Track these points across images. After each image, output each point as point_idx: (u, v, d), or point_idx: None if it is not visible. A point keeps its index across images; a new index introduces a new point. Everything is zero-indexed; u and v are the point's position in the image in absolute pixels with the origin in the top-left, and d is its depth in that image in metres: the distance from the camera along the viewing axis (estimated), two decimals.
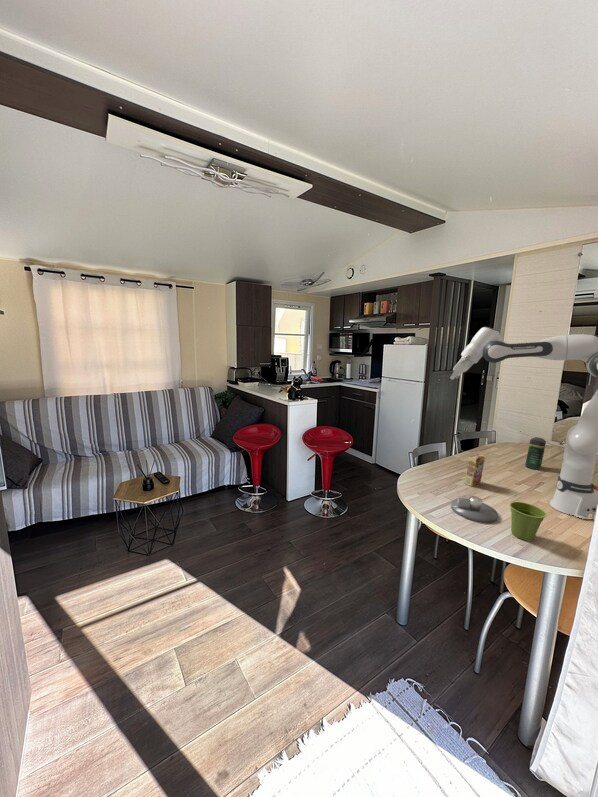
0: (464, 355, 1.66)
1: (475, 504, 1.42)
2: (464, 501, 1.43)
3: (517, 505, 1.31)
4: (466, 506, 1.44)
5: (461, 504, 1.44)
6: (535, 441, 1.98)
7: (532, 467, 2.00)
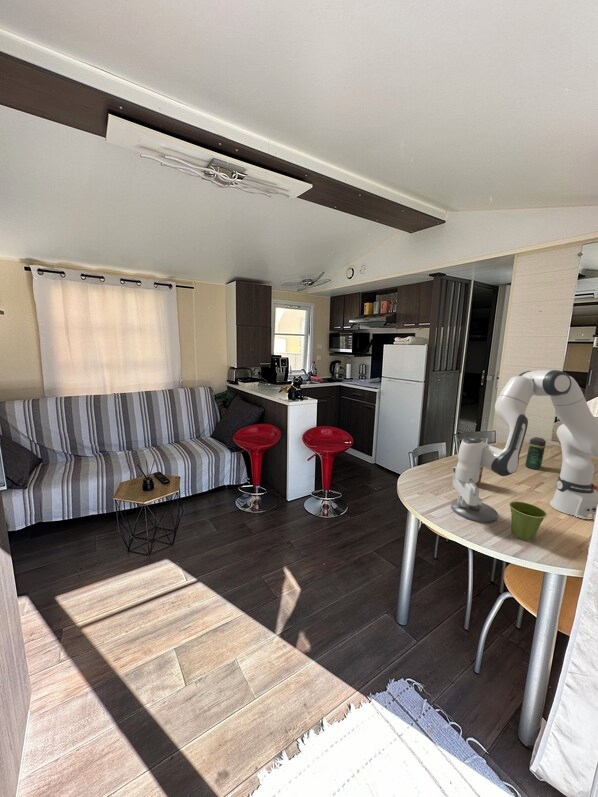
0: (465, 480, 1.36)
1: None
2: None
3: (517, 505, 1.31)
4: (466, 506, 1.44)
5: None
6: (535, 441, 1.98)
7: (532, 467, 2.00)
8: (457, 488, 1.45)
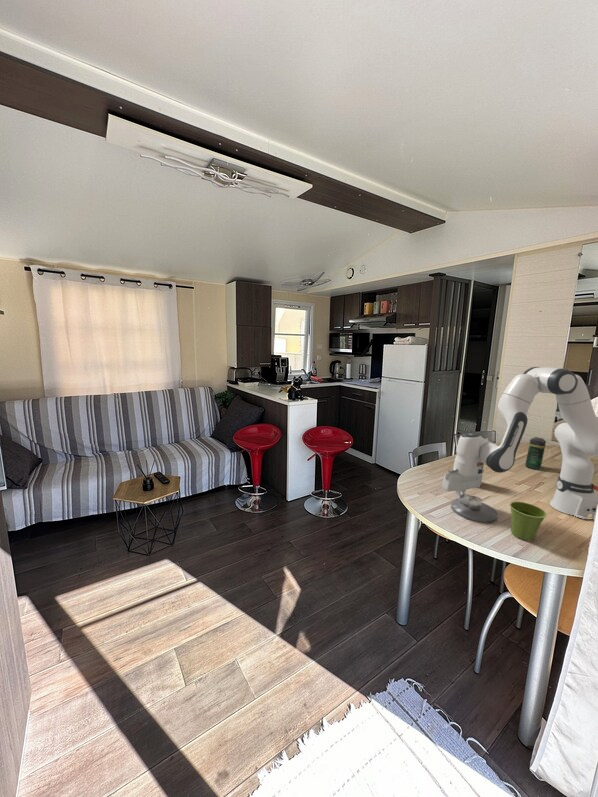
0: (453, 469, 1.46)
1: (470, 502, 1.43)
2: (463, 497, 1.47)
3: (517, 505, 1.31)
4: (465, 503, 1.47)
5: (461, 499, 1.48)
6: (535, 441, 1.98)
7: (532, 467, 2.00)
8: None
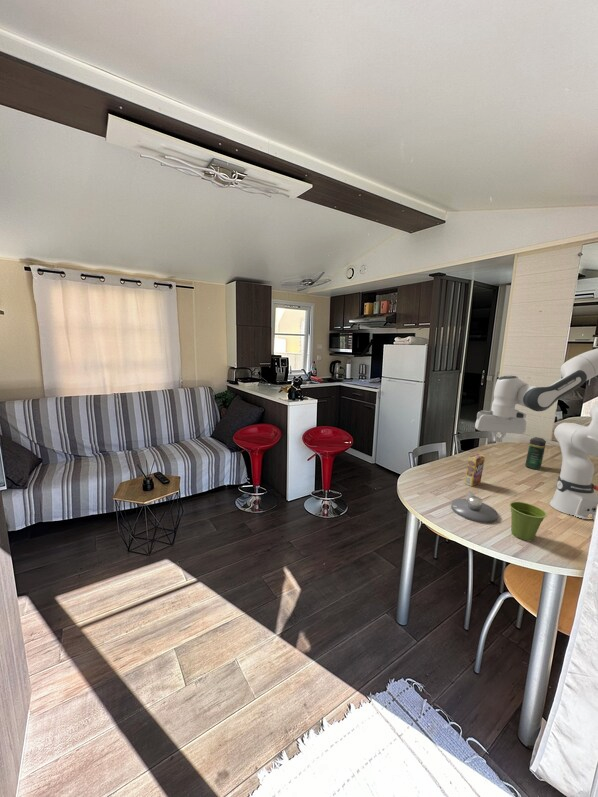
0: None
1: (468, 500, 1.45)
2: (469, 496, 1.48)
3: (517, 505, 1.31)
4: None
5: (468, 498, 1.50)
6: (535, 441, 1.98)
7: (532, 467, 2.00)
8: None
